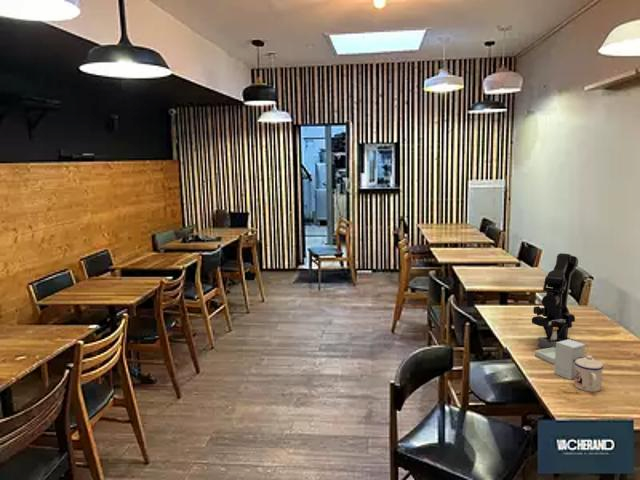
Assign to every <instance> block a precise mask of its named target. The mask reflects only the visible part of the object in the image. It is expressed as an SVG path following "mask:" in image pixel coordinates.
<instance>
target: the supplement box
mask: <svg viewBox="0 0 640 480" xmlns="http://www.w3.org/2000/svg"><path fill="white" fill-rule="evenodd" d="M585 351H586V344H585V343H582V342H579V341H576V340H573V339H570V340H569V339H568V340H564V341H560V342H556V354H555V364H554V372H553V373H554V374H556V375H558V376H560V377H563V378H564V379H568V380H570V381H571V380H574V379H575V361H576V360H577V359H579V358H585V353H586V352H585Z"/></svg>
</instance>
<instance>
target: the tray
mask: <svg viewBox="0 0 640 480" xmlns="http://www.w3.org/2000/svg"><path fill="white" fill-rule="evenodd" d="M555 354H556V348H554V347H552V348H546V349H542V348H540V349H537V350H536V349H535V350H534V357H536V358H537V359H540V360H542V361H544V362H545V363H549V364H550V365H554V366H555Z"/></svg>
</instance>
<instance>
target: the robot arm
mask: <svg viewBox="0 0 640 480" xmlns="http://www.w3.org/2000/svg"><path fill="white" fill-rule="evenodd" d="M578 265H579V259H578V257H577V256H575V255H572V254H569V253H561V252H560V253H558V254H557V256H556V262H555V265H554V267H553V270H550V271H549V272H548V274H547V275H546V276H545V278H544V282H543V287H542V291H543V292H546V294H545V295H544V296H543V297H542V299H541V305H542V306H543V307H540V305H538V306H537V305H536V306H534V307H533V314H534V315H537V316H533V317H532V318H531V324H534V325H536V326H539V327H542V328H543V329H544V332H545V335H546V336H545V337H547V338H548V339H550V338H551V334H552V330H553V327H554V325H557V326H559V329H558V330H557V338H560V339H563V340H568V339H569V340H571V338H570V337H568V333H569V329H570V328H572V327H573V323H574V322H575V321H576V317H575V315H574V314H572V313H570V311H569V310H570V309H569V308H568V300H569V291H570V284H571V280H572V279H571V278H572V277H571V276H572V275H573V274H574V273H576V270H577V269H576V268H577V267H578Z"/></svg>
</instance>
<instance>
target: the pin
mask: <svg viewBox="0 0 640 480" xmlns="http://www.w3.org/2000/svg"><path fill="white" fill-rule="evenodd" d="M558 329H559V326H557V325H554V327H553V330H552V334H551V338H550V339H548V340H549V341H551V342H555V341H557V330H558Z"/></svg>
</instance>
